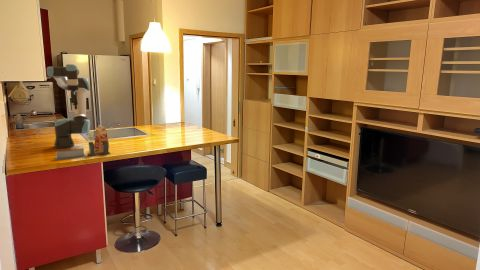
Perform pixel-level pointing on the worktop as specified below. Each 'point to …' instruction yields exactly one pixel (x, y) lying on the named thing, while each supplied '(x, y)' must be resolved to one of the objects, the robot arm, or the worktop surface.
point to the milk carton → (100, 138)
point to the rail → (70, 153)
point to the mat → (70, 158)
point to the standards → (92, 152)
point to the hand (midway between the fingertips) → (75, 112)
